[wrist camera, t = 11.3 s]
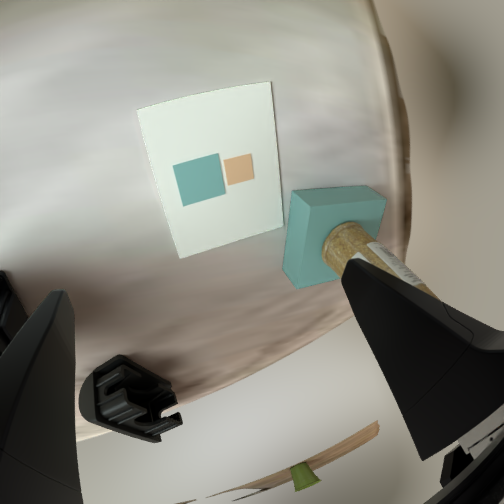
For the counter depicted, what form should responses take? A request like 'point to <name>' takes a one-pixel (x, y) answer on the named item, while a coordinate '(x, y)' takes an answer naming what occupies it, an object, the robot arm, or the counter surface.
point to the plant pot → (303, 476)
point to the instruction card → (215, 165)
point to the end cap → (128, 400)
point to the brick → (325, 227)
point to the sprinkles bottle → (364, 254)
